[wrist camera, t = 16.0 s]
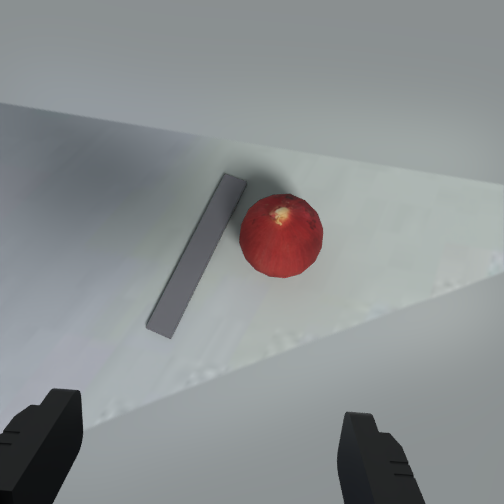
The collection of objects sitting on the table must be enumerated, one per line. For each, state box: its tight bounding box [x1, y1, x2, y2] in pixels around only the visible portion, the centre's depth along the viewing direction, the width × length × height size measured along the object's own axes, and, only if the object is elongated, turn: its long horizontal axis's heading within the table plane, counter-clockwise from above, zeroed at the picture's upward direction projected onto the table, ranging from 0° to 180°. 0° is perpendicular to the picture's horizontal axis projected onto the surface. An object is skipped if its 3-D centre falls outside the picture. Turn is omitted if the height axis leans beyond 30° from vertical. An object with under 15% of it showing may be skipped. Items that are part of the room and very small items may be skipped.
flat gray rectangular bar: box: [146, 174, 247, 339], centre depth 34 cm, size 2×14×1 cm, turn 157°
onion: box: [239, 194, 323, 278], centre depth 30 cm, size 6×6×8 cm
